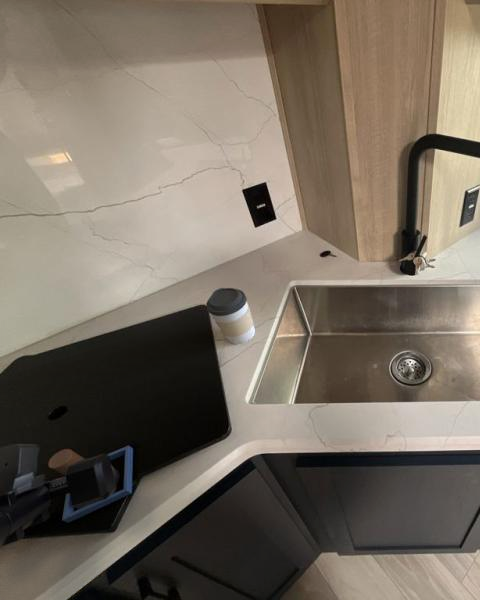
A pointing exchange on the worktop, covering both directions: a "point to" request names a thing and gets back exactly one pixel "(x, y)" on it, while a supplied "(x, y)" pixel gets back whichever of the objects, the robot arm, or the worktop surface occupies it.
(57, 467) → the dish brush
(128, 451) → the blue square frame
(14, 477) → the robot arm
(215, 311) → the coffee cup
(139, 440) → the worktop surface
